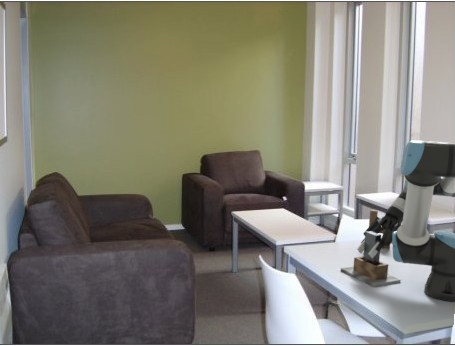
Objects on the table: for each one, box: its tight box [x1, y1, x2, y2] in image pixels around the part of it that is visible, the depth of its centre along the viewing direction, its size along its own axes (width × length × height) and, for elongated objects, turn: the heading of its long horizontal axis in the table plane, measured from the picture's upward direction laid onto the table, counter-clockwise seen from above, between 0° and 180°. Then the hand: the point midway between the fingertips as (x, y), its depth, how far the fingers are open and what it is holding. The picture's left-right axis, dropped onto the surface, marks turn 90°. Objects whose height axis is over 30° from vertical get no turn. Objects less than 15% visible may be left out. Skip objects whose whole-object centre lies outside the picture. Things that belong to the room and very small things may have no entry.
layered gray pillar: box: [363, 231, 382, 264], centre depth 213 cm, size 6×3×12 cm, turn 27°
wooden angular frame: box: [368, 209, 391, 249], centre depth 257 cm, size 4×11×18 cm, turn 78°
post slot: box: [340, 255, 402, 288], centre depth 214 cm, size 20×14×6 cm
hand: (364, 253), depth 212 cm, fingers closed on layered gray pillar, 6 cm apart
